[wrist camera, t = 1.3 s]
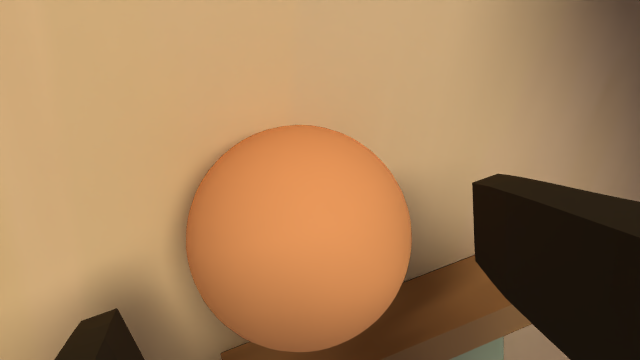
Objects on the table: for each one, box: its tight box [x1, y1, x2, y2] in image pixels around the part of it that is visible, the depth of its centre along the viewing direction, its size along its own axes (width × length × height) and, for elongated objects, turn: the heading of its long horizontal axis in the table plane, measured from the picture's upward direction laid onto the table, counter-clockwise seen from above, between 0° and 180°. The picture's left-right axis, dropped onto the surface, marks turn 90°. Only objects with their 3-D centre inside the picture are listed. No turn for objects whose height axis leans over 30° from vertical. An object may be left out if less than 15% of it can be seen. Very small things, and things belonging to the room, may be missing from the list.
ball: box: [186, 125, 412, 352], centre depth 10 cm, size 5×5×5 cm
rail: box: [221, 255, 532, 360], centre depth 14 cm, size 10×1×2 cm, turn 101°
